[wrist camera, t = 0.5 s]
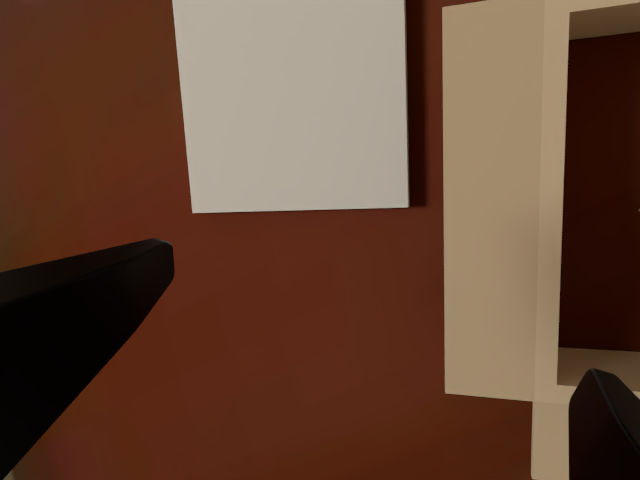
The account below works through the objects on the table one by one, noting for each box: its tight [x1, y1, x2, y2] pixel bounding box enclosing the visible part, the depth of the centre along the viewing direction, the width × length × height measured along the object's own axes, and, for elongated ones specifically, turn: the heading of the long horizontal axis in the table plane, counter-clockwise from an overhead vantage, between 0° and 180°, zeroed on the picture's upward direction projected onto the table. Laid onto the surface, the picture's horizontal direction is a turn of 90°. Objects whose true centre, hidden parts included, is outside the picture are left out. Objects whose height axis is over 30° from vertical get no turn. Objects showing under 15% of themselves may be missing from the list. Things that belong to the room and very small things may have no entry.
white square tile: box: [172, 0, 410, 213], centre depth 22 cm, size 12×12×1 cm
